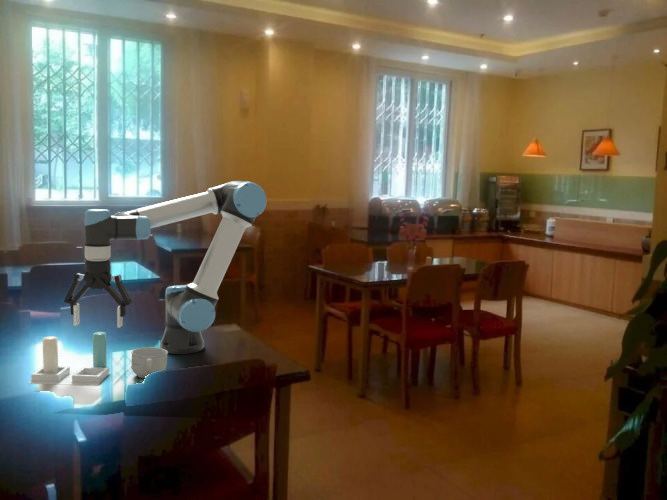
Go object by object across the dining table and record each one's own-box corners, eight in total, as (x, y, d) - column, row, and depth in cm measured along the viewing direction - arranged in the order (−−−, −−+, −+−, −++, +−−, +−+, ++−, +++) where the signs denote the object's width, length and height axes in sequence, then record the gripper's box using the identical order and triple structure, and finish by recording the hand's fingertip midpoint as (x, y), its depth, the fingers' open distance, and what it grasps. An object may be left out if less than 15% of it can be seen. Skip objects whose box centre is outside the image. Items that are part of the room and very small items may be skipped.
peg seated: (60, 374, 187) (59, 336, 185) (54, 379, 183) (53, 340, 181) (47, 374, 187) (46, 336, 185) (41, 378, 183) (40, 339, 181)
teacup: (136, 369, 197) (136, 345, 196) (170, 370, 198) (170, 346, 197) (125, 385, 183) (125, 359, 182) (162, 385, 184) (162, 359, 183)
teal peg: (108, 368, 197) (107, 332, 196) (104, 372, 193) (103, 335, 192) (96, 368, 197) (95, 331, 196) (91, 372, 193) (90, 335, 192)
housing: (111, 374, 191) (111, 365, 191) (96, 388, 179) (96, 378, 179) (47, 372, 191) (46, 363, 191) (28, 386, 179) (27, 376, 179)
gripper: (141, 259, 194) (141, 324, 197) (62, 255, 194) (63, 321, 197) (134, 262, 187) (134, 330, 190) (52, 259, 187) (53, 327, 189)
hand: (98, 325), depth 193 cm, fingers open, 13 cm apart
